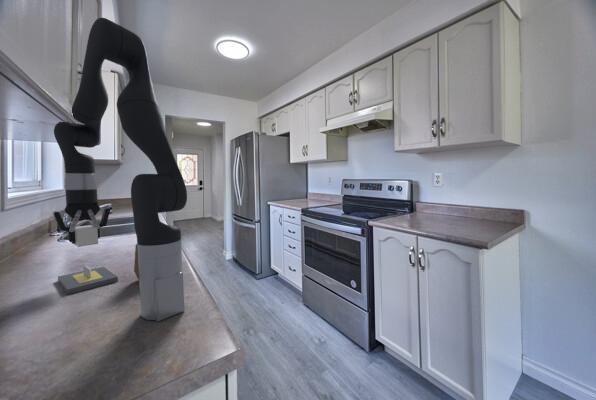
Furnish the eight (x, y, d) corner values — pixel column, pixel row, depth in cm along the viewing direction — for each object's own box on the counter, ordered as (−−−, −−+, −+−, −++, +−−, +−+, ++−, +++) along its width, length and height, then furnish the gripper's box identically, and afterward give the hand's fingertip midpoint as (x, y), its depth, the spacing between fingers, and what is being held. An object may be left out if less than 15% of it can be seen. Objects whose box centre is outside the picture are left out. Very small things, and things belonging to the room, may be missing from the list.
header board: (118, 281, 80) (117, 267, 79) (67, 294, 70) (66, 279, 70) (103, 270, 90) (103, 258, 89) (58, 281, 80) (56, 267, 80)
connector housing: (98, 243, 78) (97, 228, 78) (78, 247, 75) (77, 230, 74) (91, 239, 84) (90, 225, 84) (72, 242, 80) (71, 227, 80)
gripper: (51, 189, 70) (55, 248, 71) (112, 187, 81) (115, 239, 82) (47, 188, 75) (51, 244, 76) (106, 187, 86) (108, 236, 87)
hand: (85, 241), depth 79 cm, fingers closed on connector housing, 4 cm apart
